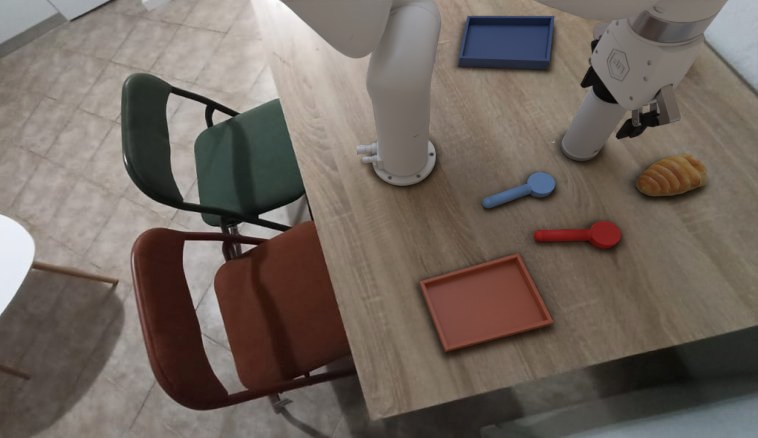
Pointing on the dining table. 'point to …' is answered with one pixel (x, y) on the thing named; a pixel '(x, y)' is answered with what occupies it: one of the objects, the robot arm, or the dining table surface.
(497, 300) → the front tray
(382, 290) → the dining table surface
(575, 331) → the dining table surface
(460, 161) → the dining table surface
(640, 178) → the pastry
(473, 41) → the back tray
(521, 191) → the blue spoon
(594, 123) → the travel mug
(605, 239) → the red spoon
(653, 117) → the robot arm
